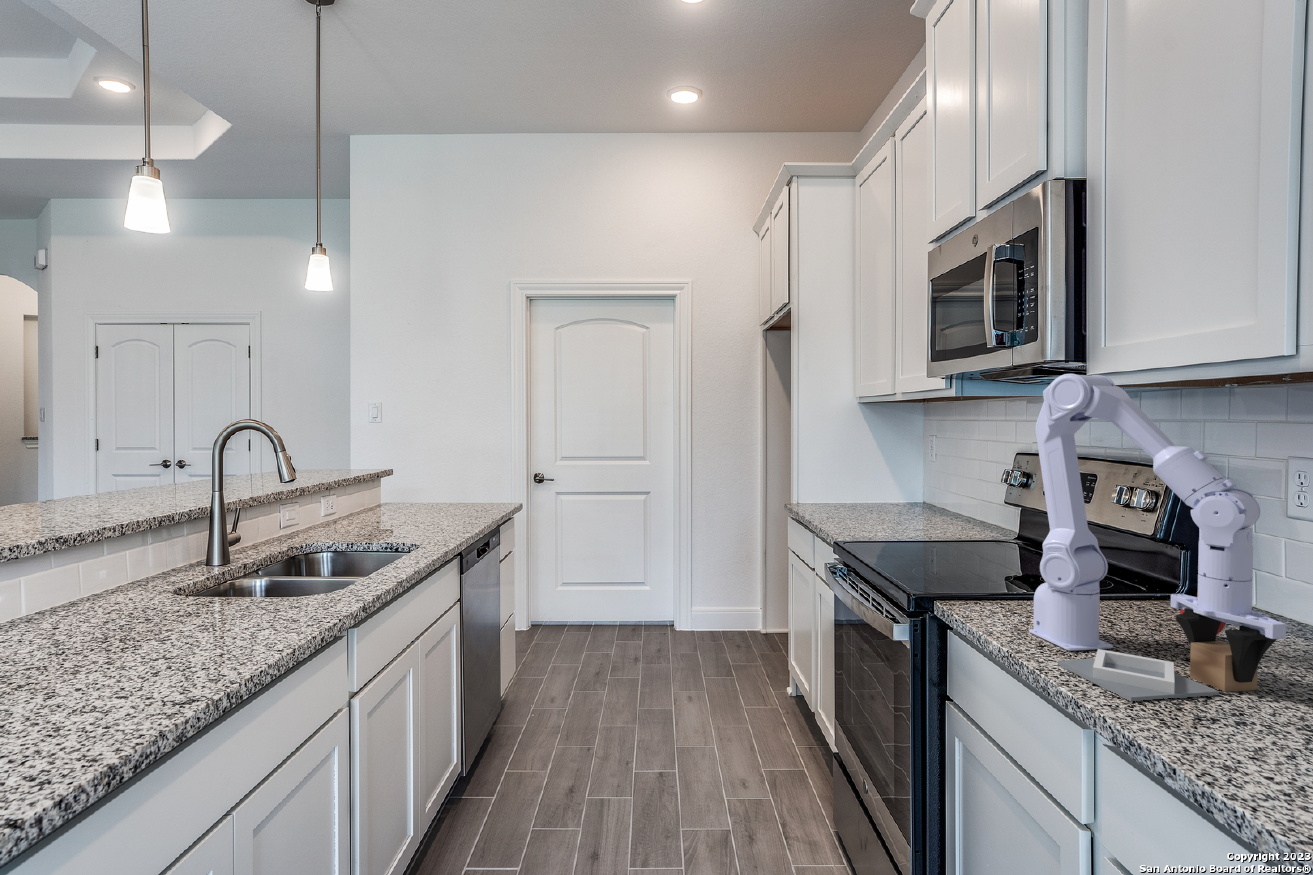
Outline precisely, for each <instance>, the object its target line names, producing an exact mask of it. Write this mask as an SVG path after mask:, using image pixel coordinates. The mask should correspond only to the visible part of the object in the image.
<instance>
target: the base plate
mask: <svg viewBox="0 0 1313 875" xmlns="http://www.w3.org/2000/svg"><path fill="white" fill-rule="evenodd" d="M1057 665H1058V666H1059V667H1062V668H1064V669H1066V670H1067V671H1069V672H1071V673H1073V674H1076V675H1077V676H1078V677H1081V678H1083V679H1085V680H1087V681H1089V682H1091V683H1093V684H1095V685H1097V686H1099V687H1101V688H1103V689H1104V690H1107V691H1108V692H1110V691H1111V692H1110V693H1112V692H1113V693H1112V694H1114V693H1116V694H1118V695H1119V696H1118V695H1117V696H1118V697H1121V698H1123V699H1124V698H1125V699H1124V700H1126V699H1127V701H1128V700H1129V702H1130V703H1133V701H1135V702H1136V701H1137V702H1144V701H1143V700H1151V701H1153V700H1152V699H1163V698H1164V699H1165V698H1180V699H1188V698H1187V697H1194V698H1200V697H1199V696H1208V697H1214V696H1213V695H1219V694H1220V692H1219V690H1218V689H1217V690H1216V689H1215V688H1213V687H1211V686H1208V685H1206V684H1204V683H1201V682H1199V681H1197V680H1196V681H1195V680H1194V679H1192V678H1188V677H1186V676H1184V675H1181V674H1179V673H1176V672H1175V663H1174V661H1169V660H1163V659H1156V658H1151V657H1147V656H1146V657H1145V656H1140V655H1135V654H1134V655H1133V654H1129V653H1124V652H1117V651H1111V650H1107V649H1097V651H1096V655H1095V657H1094V658H1083V659H1067V660H1066V659H1065V660H1063V659H1062V660H1057ZM1116 694H1115V695H1116ZM1197 696H1198V697H1197ZM1219 696H1220V695H1219ZM1141 700H1142V701H1141ZM1165 700H1166V699H1165ZM1135 702H1134V703H1135Z"/></svg>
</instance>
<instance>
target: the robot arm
mask: <svg viewBox="0 0 1313 875" xmlns="http://www.w3.org/2000/svg"><path fill="white" fill-rule="evenodd" d="M1042 398H1043V403H1042V405H1041V409H1040V411H1039V414H1038V417H1037V419H1036V423H1035V436H1036V441H1037V449H1038V451H1037V452H1038V456H1039V463H1040V470H1041V478H1042V483H1043V490H1044V497H1045V503H1046V504H1045V505H1046V512H1047V519H1048V524H1049V532H1048V534H1047V536H1046V538H1045V539H1044V540H1043V542H1042V557H1041V560H1040V563H1039V572H1040V575H1041V577H1042V579H1043V580H1044V581H1045V582H1044V583H1041V584H1040V585H1038V587H1037V588H1036V589H1035V592H1034V595H1033V628H1030V629H1028V632H1029V633H1030V634H1032V635H1035V636H1037V637H1038V638H1040V639H1043V640H1045V641H1047V642H1050V643H1051V644H1054V645H1055V646H1058V647H1060V648H1061V649H1064V650H1067V651H1088V650H1089V651H1090V650H1098V649H1101V650H1107V649H1113V648H1114V645H1113V644H1110V643H1108V642H1107V641H1104V640H1101V639H1100V598H1101V597H1100V592H1101V590H1100V588H1101V587H1100V581H1102V580H1103V579H1105V577H1106V575H1108V569H1109V564H1108V561H1107V559H1106V557H1105V555H1104V554H1103V552H1102V551H1101V549H1100V546H1099V540H1098V539H1097V537H1096V536H1095V535H1094V534H1093V533H1092V531H1091V530H1090V528H1089V527H1088V525H1089V524H1088V519H1087V514H1086V505H1085V499H1084V492H1083V487H1082V486H1083V485H1082V480H1081V473H1080V465H1079V461H1078V460H1079V458H1078V454H1077V446H1076V441H1075V434H1076V433H1077V432H1078V431H1079V430H1080V429H1082V427H1083V426H1084V425H1085V424H1086V423H1088V421H1090V420H1091V419H1093V418H1094V419H1098V420H1101V421H1108V422H1110V423H1112V424H1113V426H1114V425H1115V426H1116V427H1117V428H1118V429H1119V430H1120V431H1121V432H1122V433H1123V434H1124V435H1126V436H1127V437H1128V438H1129V439H1130V440H1131V441H1132V442H1134V443H1135V444H1136V446H1138V447H1139V448H1140V449H1141V450H1143V451H1144V452H1145V453H1146V454H1147V455H1148V456H1149V457H1150V458H1152V462H1153V463H1152V464H1153V466H1152V470H1153V474H1155V475H1156V476H1157V477H1158V478H1159V479H1160V480H1161V481H1162V482H1163V483H1164V484H1165V485H1166V486H1167V487H1168V488H1169V489H1170V490H1171V491H1172V492H1173V493H1174V494H1175V495H1176V496H1177V497H1178V498H1179V499H1180V500H1181V501H1182V502H1183V503H1184V504H1185V505H1186V506H1188V507H1190V508H1192V509H1190V516H1191V518H1192V521H1193V522H1194V524H1195V525H1196V526H1197V527H1198V528H1199V529H1198V530H1199V533H1198V534H1199V537H1198V560H1197V561H1198V563H1197V564H1198V565H1197V570H1198V571H1197V573H1198V574H1197V593H1198V597H1197V596H1192V595H1188V594H1184V593H1172V594H1170V607H1171V608H1173V609H1177V610H1181V609H1184V612H1183V614H1180V613H1179V614H1175V620H1176V621H1177V623H1178V624H1179V625H1180V628H1181V629H1182V631H1183V633H1184V635H1185V637H1186V639H1187V642H1188V644H1189V647H1190V648H1191V643H1194V642H1212V641H1217V640H1216V639H1217V635H1218V634H1217V632H1218V629H1219V626H1220V623H1221V621H1222V622H1225V624H1229V625H1231V626H1235V627H1239V628H1238V629H1225V630H1224V634H1225V636H1226V639H1227V641H1228V643H1229V644H1230V648H1231V653H1232V667H1233V677H1234V681H1236V682H1239V683H1243V682H1252V680H1253V677H1254V674H1255V672H1256V669H1257V670H1258V668H1259V665H1260V662H1261V660H1263V659H1262V658H1263V656H1264V655H1265V654H1266V652H1267V651H1268V650H1269V648H1270V647H1272V645H1273V644H1274V643H1275V642H1276V641H1277V640H1281V639H1282V640H1283V639H1287V623H1284V622H1282V621H1278V620H1275V619H1273V618H1271V617H1268V616H1266V615H1264V614H1261V613H1259V612H1257V611H1254V610H1253V607H1252V606H1253V575H1254V574H1253V573H1254V572H1253V567H1254V544H1253V536H1254V535H1253V534H1254V532H1253V529H1254V528H1252V526H1254V524H1256V523H1257V522H1258V520H1259V519H1260V515H1261V507H1260V505H1259V502H1258V501H1257V500H1256V498H1254V496H1253V493H1252V492H1249V491H1248V490H1246V489H1242V488H1238V487H1235V486H1236V485H1237V484H1236V482H1235V481H1234V480H1233V479H1232V478H1229V479H1227V478H1225V477H1224V476H1223V475H1222V474H1221V473H1220V472H1219V471H1217V470H1216V468H1214V467H1213V466H1212V465H1211V464H1210V463H1209V462H1208V461H1207V459H1209V455H1208V454H1206V453H1205V452H1204V451H1203V450H1197V451H1196V450H1195V449H1194V448H1192V446H1183V445H1181V446H1180V445H1179V446H1178V445H1176V444H1175V443H1174V442H1173V441H1172V440H1171V439H1170V438H1169V437H1168V436H1167V435H1166V434H1165V432H1163V431H1162V430H1161V428H1160V427H1159V426H1158V425H1157V424H1156V423H1155V422H1154V421H1153V420H1152V419H1151V418H1150V417H1149V416H1148V415H1147V414H1146V413H1145V412H1144V411H1143V409H1142V408H1140V407H1139V406H1138V404H1137V403H1136V402H1135V401H1133V400H1132V398H1131V397H1130V396H1129V394H1128V393H1127V392H1126V391H1125V389H1123V388H1121V387H1119V385H1116V383H1114V381H1113V380H1112V379H1111V378H1109V377H1107V376H1104V375H1100V374H1092V375H1087V374H1086V375H1084V374H1075V373H1064V374H1062V375H1060V376H1059V375H1058V376H1057V377H1056V378H1055V379H1054V380H1053V381H1052V382H1050V384H1049V385H1048V386H1047V387H1046V388H1045V389H1044V390H1043V391H1042Z"/></svg>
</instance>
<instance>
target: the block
mask: <svg viewBox="0 0 1313 875" xmlns="http://www.w3.org/2000/svg"><path fill="white" fill-rule="evenodd" d="M1189 658H1190V659H1189V661H1190V662H1189V665H1190V666H1189V678H1190V677H1191V678H1190V679H1192V680H1195V679H1196V681H1197V682H1200V681H1201V682H1200V683H1202V682H1203V683H1202V684H1204V685H1206V686H1209V685H1211V686H1210V687H1212V686H1213V687H1212V688H1214V687H1215V688H1214V689H1217V690H1219V689H1220V691H1221V690H1222V692H1224V693H1226V692H1227V693H1229V692H1240V691H1243V692H1244V691H1257V690H1258V668H1257V669H1256V672H1255V674H1254V677H1253V680H1252V682H1243V683H1239V682H1236V681H1234V677H1233V667H1232V653H1231V648H1230V644H1229V642H1226V641H1223V640H1215V641H1212V642H1194V643H1191V647H1190V657H1189Z"/></svg>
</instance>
